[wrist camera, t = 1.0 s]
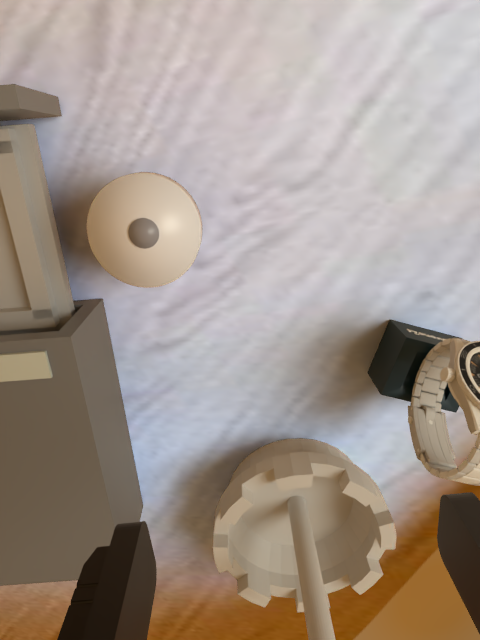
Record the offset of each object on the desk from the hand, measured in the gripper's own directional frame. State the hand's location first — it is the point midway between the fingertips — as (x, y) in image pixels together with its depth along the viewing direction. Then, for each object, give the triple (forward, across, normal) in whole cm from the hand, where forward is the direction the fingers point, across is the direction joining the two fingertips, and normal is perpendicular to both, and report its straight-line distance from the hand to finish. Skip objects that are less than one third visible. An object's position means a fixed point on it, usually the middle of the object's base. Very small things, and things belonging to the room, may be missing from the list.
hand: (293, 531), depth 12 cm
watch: (+20, -11, +6) cm, 23 cm away
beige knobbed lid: (+16, +6, -6) cm, 18 cm away
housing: (+20, +19, +8) cm, 28 cm away
